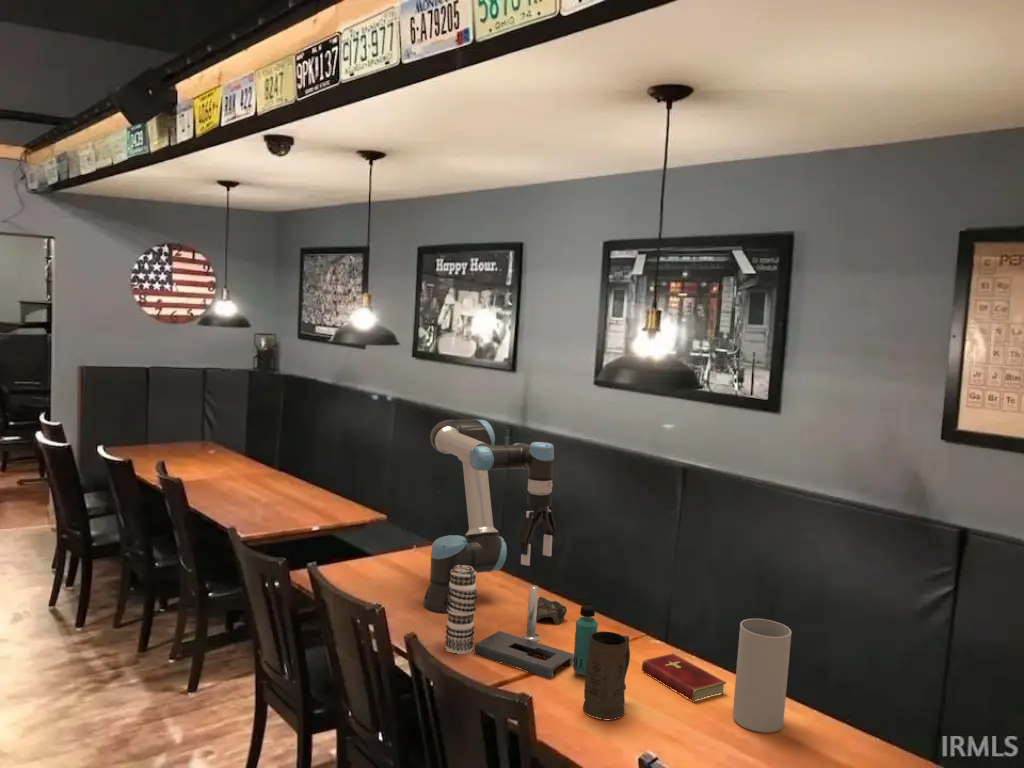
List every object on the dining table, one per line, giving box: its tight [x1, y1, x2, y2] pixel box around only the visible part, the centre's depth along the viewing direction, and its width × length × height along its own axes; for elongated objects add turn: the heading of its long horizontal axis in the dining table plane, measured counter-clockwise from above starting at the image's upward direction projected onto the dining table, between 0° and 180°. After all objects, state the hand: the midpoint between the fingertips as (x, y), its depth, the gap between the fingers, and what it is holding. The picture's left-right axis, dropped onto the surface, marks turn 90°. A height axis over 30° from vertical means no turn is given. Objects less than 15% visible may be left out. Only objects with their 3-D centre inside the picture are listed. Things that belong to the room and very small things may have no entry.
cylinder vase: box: [732, 618, 792, 734], centre depth 210 cm, size 12×12×25 cm
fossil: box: [536, 596, 568, 626], centre depth 273 cm, size 11×9×10 cm
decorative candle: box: [444, 565, 479, 655], centre depth 245 cm, size 9×9×25 cm
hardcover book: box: [641, 653, 727, 701], centre depth 231 cm, size 12×21×4 cm, turn 32°
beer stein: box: [582, 631, 631, 719], centre depth 213 cm, size 15×11×20 cm
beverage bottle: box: [572, 604, 599, 676], centre depth 231 cm, size 6×7×20 cm
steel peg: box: [521, 584, 540, 643], centre depth 255 cm, size 5×5×17 cm
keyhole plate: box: [473, 630, 574, 680], centre depth 241 cm, size 26×13×3 cm, turn 57°
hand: (536, 560), depth 255 cm, fingers open, 13 cm apart
